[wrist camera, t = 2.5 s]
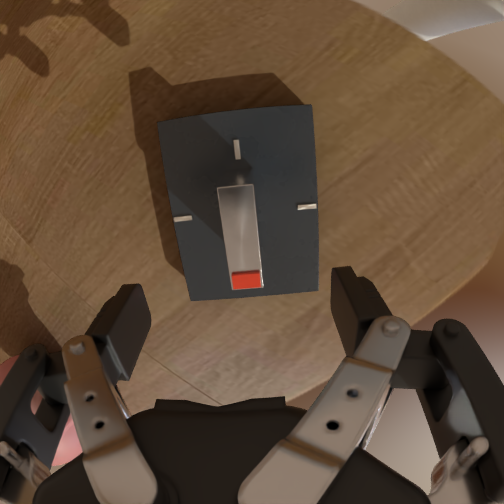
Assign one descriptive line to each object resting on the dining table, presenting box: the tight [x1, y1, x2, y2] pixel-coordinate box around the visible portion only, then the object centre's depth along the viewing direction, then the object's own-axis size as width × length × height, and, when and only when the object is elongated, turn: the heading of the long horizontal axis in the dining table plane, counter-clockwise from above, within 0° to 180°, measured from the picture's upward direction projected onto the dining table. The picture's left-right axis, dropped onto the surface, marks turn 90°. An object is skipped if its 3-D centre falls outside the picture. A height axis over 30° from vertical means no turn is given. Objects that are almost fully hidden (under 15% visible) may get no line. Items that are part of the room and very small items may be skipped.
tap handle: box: [217, 168, 264, 290], centre depth 20 cm, size 6×2×6 cm, turn 6°
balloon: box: [0, 355, 82, 466], centre depth 28 cm, size 15×20×15 cm
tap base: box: [157, 104, 319, 301], centre depth 24 cm, size 15×11×3 cm
